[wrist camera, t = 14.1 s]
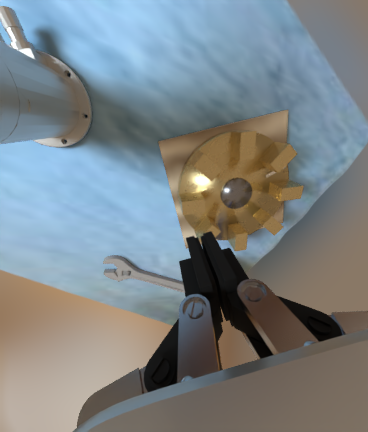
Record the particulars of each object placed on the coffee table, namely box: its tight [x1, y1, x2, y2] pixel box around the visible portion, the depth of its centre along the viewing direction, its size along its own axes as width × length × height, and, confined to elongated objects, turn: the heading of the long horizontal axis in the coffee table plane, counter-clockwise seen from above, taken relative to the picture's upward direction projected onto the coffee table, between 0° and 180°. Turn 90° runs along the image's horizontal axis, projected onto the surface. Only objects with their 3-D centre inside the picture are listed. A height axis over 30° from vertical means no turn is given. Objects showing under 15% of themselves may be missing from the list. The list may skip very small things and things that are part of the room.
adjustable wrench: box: [103, 255, 185, 293], centre depth 47 cm, size 25×6×2 cm, turn 56°
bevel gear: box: [178, 130, 303, 251], centre depth 35 cm, size 22×22×6 cm
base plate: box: [158, 110, 288, 249], centre depth 39 cm, size 24×24×2 cm
